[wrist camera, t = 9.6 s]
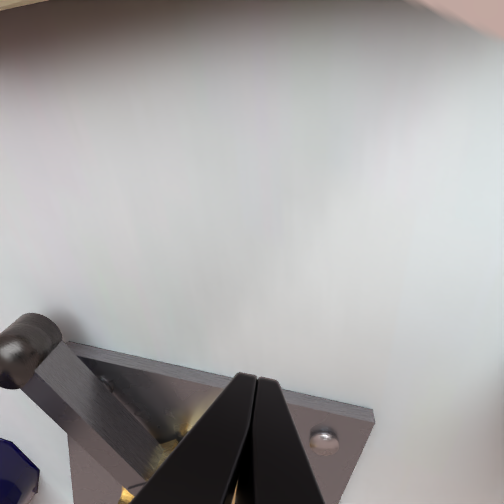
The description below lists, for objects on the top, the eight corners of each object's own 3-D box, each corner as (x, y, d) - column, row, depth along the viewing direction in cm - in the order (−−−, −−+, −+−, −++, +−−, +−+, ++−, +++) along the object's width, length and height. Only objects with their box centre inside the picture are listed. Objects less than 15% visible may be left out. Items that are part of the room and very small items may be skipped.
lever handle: (85, 276, 20) (45, 313, 17) (289, 513, 27) (287, 571, 24) (-22, 339, 23) (-72, 380, 20) (184, 537, 30) (170, 591, 27)
